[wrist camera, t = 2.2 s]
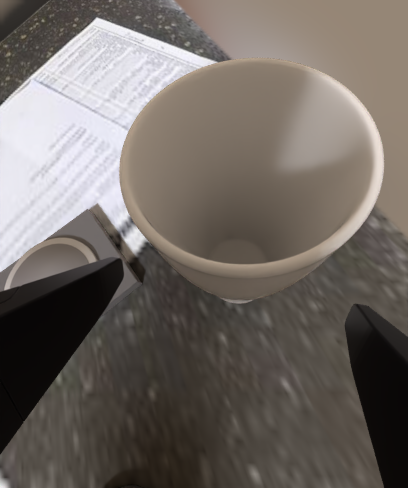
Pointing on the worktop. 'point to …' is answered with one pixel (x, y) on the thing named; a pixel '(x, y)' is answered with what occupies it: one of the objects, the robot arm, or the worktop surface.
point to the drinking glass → (251, 174)
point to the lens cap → (131, 486)
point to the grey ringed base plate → (70, 256)
